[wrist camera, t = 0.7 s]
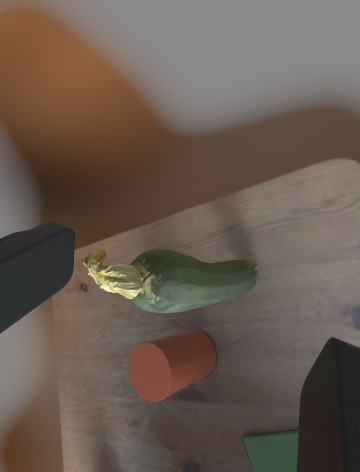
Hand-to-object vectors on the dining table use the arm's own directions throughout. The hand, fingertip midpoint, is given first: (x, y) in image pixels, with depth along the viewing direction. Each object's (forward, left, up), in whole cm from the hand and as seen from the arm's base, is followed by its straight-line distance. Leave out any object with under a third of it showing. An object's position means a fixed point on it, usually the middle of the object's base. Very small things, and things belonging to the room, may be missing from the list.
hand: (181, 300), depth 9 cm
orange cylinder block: (+13, -11, -23) cm, 28 cm away
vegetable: (+3, -8, -23) cm, 24 cm away
